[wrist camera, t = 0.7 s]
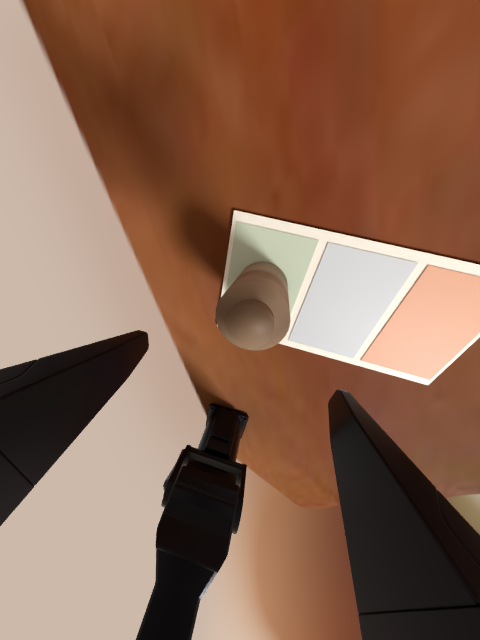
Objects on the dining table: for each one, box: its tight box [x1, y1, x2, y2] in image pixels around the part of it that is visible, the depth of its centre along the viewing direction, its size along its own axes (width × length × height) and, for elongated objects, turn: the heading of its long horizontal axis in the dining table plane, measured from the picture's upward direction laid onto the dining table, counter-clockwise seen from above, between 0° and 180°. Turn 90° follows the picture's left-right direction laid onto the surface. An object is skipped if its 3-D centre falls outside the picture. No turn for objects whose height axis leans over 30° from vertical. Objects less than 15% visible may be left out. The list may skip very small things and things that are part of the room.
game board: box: [217, 210, 480, 385], centre depth 18 cm, size 12×24×1 cm, turn 79°
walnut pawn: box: [216, 262, 290, 350], centre depth 15 cm, size 5×5×8 cm
